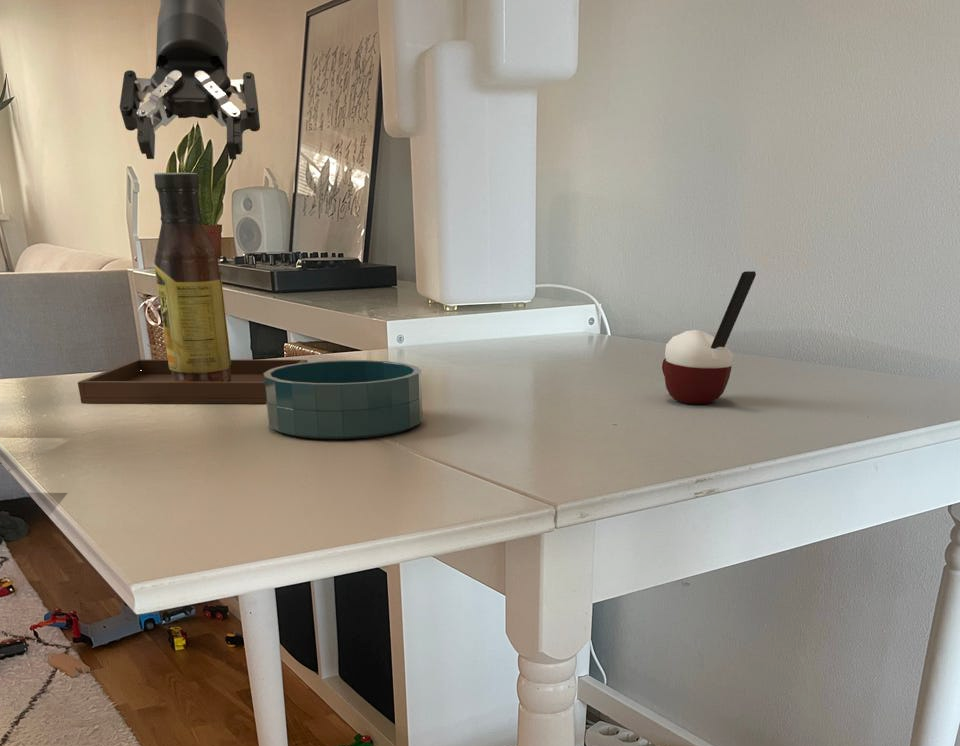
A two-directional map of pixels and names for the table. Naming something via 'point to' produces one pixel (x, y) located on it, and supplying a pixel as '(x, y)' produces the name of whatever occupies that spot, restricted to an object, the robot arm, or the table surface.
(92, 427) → the table surface
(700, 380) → the ice cream cup
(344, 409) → the bowl
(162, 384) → the tray
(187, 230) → the sauce bottle
